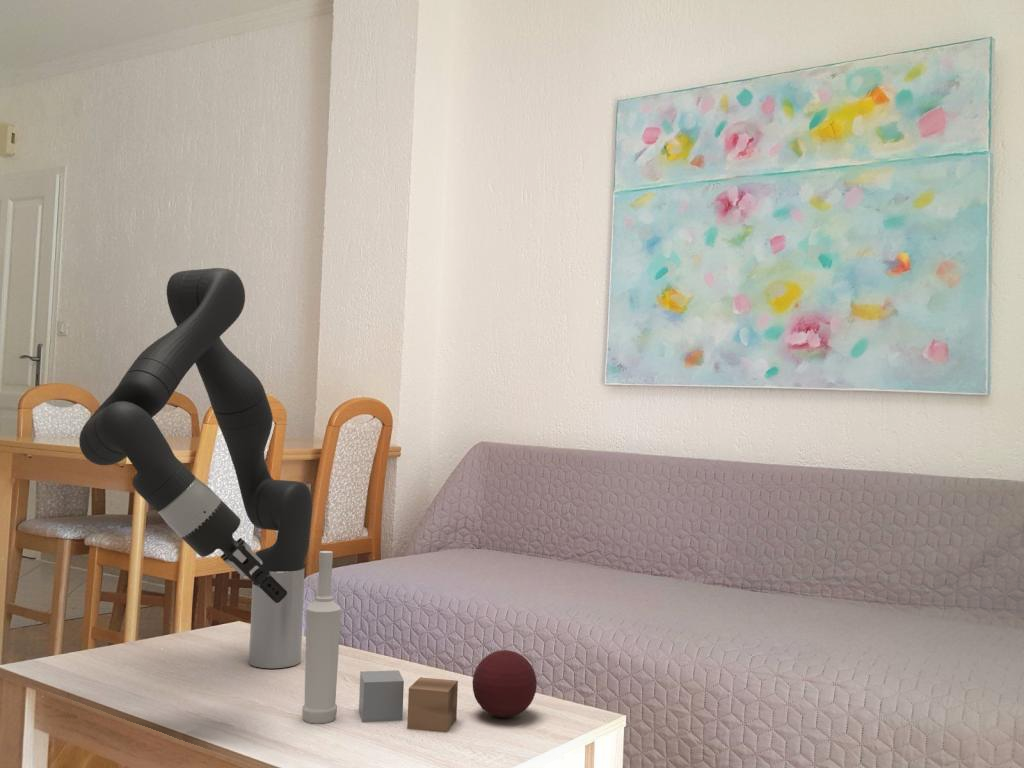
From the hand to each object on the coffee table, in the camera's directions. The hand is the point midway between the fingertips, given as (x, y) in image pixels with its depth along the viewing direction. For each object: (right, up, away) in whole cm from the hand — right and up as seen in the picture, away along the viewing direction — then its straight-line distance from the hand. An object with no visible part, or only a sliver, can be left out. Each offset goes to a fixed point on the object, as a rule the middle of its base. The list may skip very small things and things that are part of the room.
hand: (276, 592), depth 138 cm
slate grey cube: (+15, -20, +5) cm, 25 cm away
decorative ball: (+34, -21, +6) cm, 40 cm away
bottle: (+6, -20, +2) cm, 21 cm away
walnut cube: (+23, -20, +2) cm, 31 cm away
